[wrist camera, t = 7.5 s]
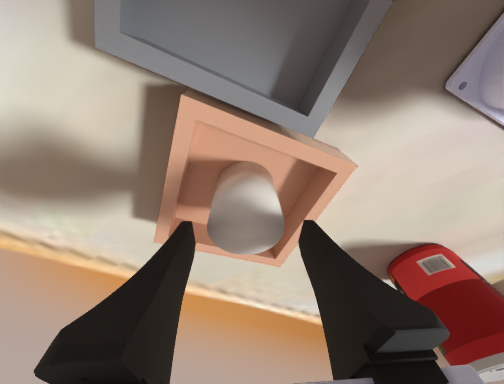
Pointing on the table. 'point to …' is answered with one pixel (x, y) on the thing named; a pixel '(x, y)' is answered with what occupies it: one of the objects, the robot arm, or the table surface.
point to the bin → (247, 49)
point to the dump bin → (244, 149)
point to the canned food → (456, 306)
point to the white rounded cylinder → (245, 210)
